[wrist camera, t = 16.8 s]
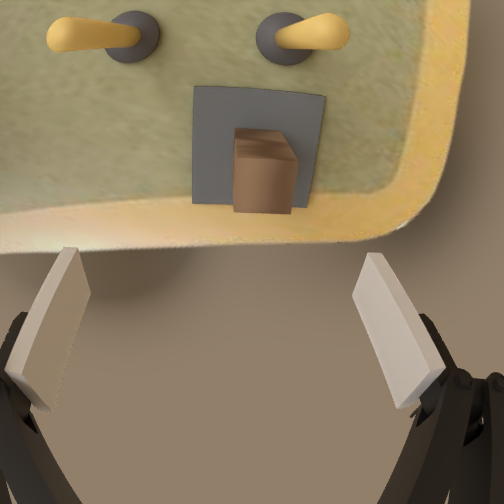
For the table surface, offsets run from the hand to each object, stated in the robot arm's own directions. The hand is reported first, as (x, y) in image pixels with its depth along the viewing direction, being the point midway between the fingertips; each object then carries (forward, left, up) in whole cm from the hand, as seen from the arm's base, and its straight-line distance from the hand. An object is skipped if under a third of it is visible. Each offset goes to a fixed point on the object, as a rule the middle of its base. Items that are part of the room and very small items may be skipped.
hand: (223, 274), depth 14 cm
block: (+3, -2, -24) cm, 24 cm away
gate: (-3, +11, -24) cm, 27 cm away
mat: (+3, -2, -24) cm, 25 cm away
